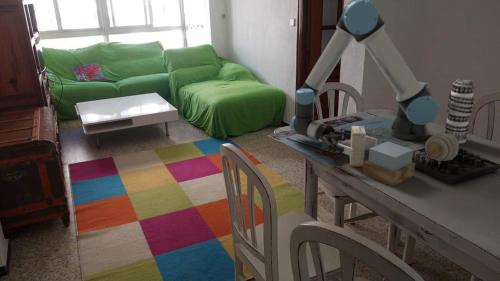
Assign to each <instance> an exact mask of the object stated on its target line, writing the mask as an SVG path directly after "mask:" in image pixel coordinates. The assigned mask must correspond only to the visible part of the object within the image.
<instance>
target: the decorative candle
mask: <svg viewBox="0 0 500 281" xmlns="http://www.w3.org/2000/svg"><path fill="white" fill-rule="evenodd" d="M475 86H476V84H475V83H474V81H472V80H471V79H464V78H463V79H461V78H460V79H456V80H455V81H454V82H452V88H451V93H449V96H448V99H449V100H448V103H447V107H448V108H447V113H448V115H447V118H446V122H445V126H444V132H443V133H448V134H451V135H453V136H455V137H456V138H457V140H458V142H459V144H465V143H466V142H467V139H468V131H469V127H470V125H469V119H470V118H469V117H470V115H471V114H472V110H473V107H472V106H471V105H474V102H473V101H475V98H474V94H475V93H474V90H475Z"/></svg>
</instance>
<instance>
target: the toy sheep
mask: <svg viewBox="0 0 500 281" xmlns="http://www.w3.org/2000/svg"><path fill="white" fill-rule="evenodd" d="M459 148H460V143H459V142H458V140H457V138H456V137H455V136H453V135H451V134H448V133H444V132H441V133H435V134H433V135H431V136H430V137H429V138H428V139H427V140H426V142H425V145H424V152H425V154H426V157H427V156H428V157H429V158H431V159H430V160H432V159H439V160H452V161H453V159H454V158H456V157H457V155H458V153H459Z"/></svg>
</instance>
